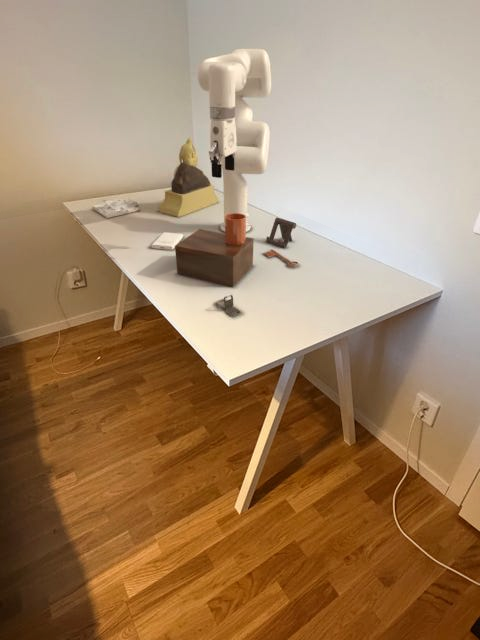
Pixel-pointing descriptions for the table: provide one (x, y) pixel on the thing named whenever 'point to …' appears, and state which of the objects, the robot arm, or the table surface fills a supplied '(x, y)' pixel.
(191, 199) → the gold-headed buddha statuette
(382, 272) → the table surface
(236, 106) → the robot arm
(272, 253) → the key
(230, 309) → the strap clip
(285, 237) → the tablet stand
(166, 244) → the hard drive
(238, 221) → the cup
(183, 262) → the dark wooden box
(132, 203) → the floor plan model
